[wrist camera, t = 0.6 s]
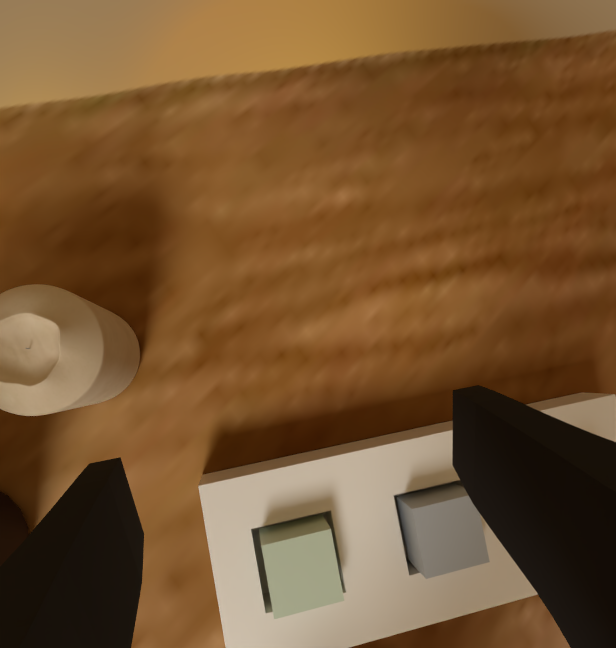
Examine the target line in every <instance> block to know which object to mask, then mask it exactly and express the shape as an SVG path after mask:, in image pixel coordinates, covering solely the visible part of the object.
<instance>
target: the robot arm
mask: <svg viewBox="0 0 616 648" xmlns="http://www.w3.org/2000/svg"><path fill="white" fill-rule="evenodd" d="M452 465H453V467H454V469H455V471H456V473H457V475H458V477H459V479H460V481H461V483H462V485H463V487H464V488H465V490H466V492H467V494H468V496H469V497H470V499H471V501H472V503H473V504H474V506H475V507H476V509H477V510H478V512H479V513H480V515H481V516H482V517H483V519H484V520H485V522H486V523H487V524H488V526H489V527H490V529H491V530H492V531H493V533H494V534H495V536H496V537H497V538H498V540H499V541H500V542H501V544H502V545H503V547H504V548H505V549H506V551H507V552H508V553H509V555H510V556H511V558H512V559H513V560H514V562H515V563H516V565H517V566H518V567H519V569H520V570H521V571H522V573H523V574H524V576H525V577H526V578H527V580H528V581H529V582H530V584H531V585H532V587H533V588H534V589H535V591H536V592H537V594H538V595H539V597H540V598H541V600H542V601H543V603H544V604H545V606H546V607H547V609H548V610H549V612H550V613H551V615H552V616H553V618H554V620H555V621H556V623H557V625H558V627H559V628H560V630H561V632H562V633H563V635H564V637H565V638H566V640H567V642H568V643H569V645H570V647H571V648H616V442H614V441H611V440H609V439H606V438H603V437H601V436H598V435H596V434H593V433H590V432H588V431H585V430H583V429H581V428H578V427H576V426H573V425H571V424H568V423H566V422H564V421H561V420H559V419H557V418H554V417H552V416H550V415H547V414H545V413H543V412H541V411H538V410H536V409H534V408H532V407H529V406H527V405H525V404H523V403H520V402H518V401H516V400H514V399H511V398H509V397H507V396H504V395H502V394H500V393H497V392H495V391H493V390H490V389H488V388H485V387H482V386H479V385H477V386H473V387H468V388H463V389H458V390H453V449H452ZM143 546H144V532H143V529H142V526H141V523H140V519H139V516H138V513H137V510H136V507H135V503H134V500H133V497H132V494H131V490H130V487H129V484H128V481H127V477H126V474H125V471H124V468H123V464H122V461H121V458H115V459H110V460H105V461H100V462H95V463H90V464H89V465H88V466H87V467H86V468H85V469H84V470H83V472H82V473H81V474H80V475H79V476H78V477H77V479H76V480H75V481H74V482H73V483H72V485H71V486H70V487H69V488H68V490H67V491H66V492H65V493H64V494H63V496H62V497H61V498H60V499H59V500H58V502H57V503H56V504H55V505H54V506H53V508H52V509H51V510H50V511H49V512H48V513H47V515H46V516H45V517H44V518H43V519H42V520H41V522H40V523H39V524H38V525H37V526H36V528H35V529H34V530H33V531H32V532H31V533H30V535H29V536H28V537H27V538H26V539H25V540H24V541H23V542H22V544H21V545H20V546H19V547H18V548H17V549H16V550H15V551H14V552H13V553H12V554H11V555H10V556H9V558H8V559H7V560H6V561H5V562H4V563H3V564H2V565H1V566H0V648H131V644H132V638H133V633H134V627H135V621H136V615H137V609H138V603H139V597H140V590H141V584H142V570H143Z"/></svg>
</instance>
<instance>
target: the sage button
mask: <svg viewBox="0 0 616 648" xmlns="http://www.w3.org/2000/svg"><path fill="white" fill-rule="evenodd" d="M259 534H260V541H261V547H262V553H263V559H264V564H265V570H266V576H267V581H268V587H269V593H270V598H271V604H272V610H273V615H274V619H278V618H281V617H285V616H289V615H293V614H296V613H300V612H304V611H308V610H311V609H315V608H319V607H323V606H326V605H330V604H334V603H338V602H341V601H344V596H343V591H342V586H341V580H340V575H339V570H338V564H337V559H336V553H335V548H334V543H333V537H332V532H331V528H330V527H329V525H328V523H327V522H326V520H325V518H324V517H323V515H322V514H319V515H315V516H311V517H306V518H302V519H298V520H294V521H289V522H285V523H281V524H277V525H273V526H268V527H264V528H260V529H259Z"/></svg>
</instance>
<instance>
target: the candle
mask: <svg viewBox="0 0 616 648" xmlns="http://www.w3.org/2000/svg"><path fill="white" fill-rule="evenodd" d="M139 362H140V347H139V343H138V340H137V337H136V335H135V333H134V331H133V330H132V328H131V327H130V326H129V325H128V323H127V322H126V321H124V320H123V319H122V318H121V317H119V316H117V315H116V314H114V313H112V312H110V311H108V310H106V309H104V308H102V307H100V306H98V305H96V304H94V303H92V302H90V301H88V300H86V299H84V298H82V297H80V296H78V295H76V294H74V293H71V292H69V291H67V290H65V289H62V288H59V287H56V286H51V285H45V284H31V285H23V286H19V287H15V288H12V289H9V290H7V291H5V292H3V293H1V294H0V409H1V410H4V411H6V412H9V413H13V414H17V415H24V416H39V415H46V414H51V413H56V412H60V411H65V410H69V409H74V408H78V407H83V406H88V405H92V404H96V403H100V402H104V401H106V400H109V399H111V398H113V397H115V396H117V395H118V394H120V393H121V392H122V391H123V390H124V389H125V388H127V386H128V385H129V384H130V383H131V381H132V380H133V378H134V376H135V374H136V372H137V370H138V366H139Z"/></svg>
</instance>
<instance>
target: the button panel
mask: <svg viewBox="0 0 616 648" xmlns="http://www.w3.org/2000/svg"><path fill="white" fill-rule="evenodd" d="M526 405H527V406H529V407H532V408H534V409H536V410H538V411H541V412H543V413H545V414H547V415H550V416H552V417H554V418H557V419H559V420H561V421H564V422H566V423H568V424H571V425H573V426H576V427H578V428H581V429H583V430H585V431H588V432H590V433H593V434H596V435H598V436H601V437H603V438H606V439H609V440H611V441H614V442H616V396H615V394H601V393H584V392H581V393H577V394H572V395H567V396H563V397H558V398H554V399H549V400H544V401H540V402H535V403H531V404H526ZM452 449H453V420H452V421H448V422H443V423H438V424H434V425H429V426H425V427H420V428H415V429H411V430H406V431H401V432H397V433H392V434H388V435H383V436H378V437H374V438H369V439H365V440H360V441H355V442H351V443H346V444H342V445H337V446H332V447H328V448H323V449H319V450H314V451H309V452H305V453H300V454H295V455H291V456H286V457H282V458H277V459H272V460H268V461H263V462H259V463H254V464H249V465H245V466H240V467H236V468H231V469H226V470H222V471H217V472H213V473H208V474H203V475H202V477H201V480H200V483H199V486H198V487H199V492H200V498H201V504H202V510H203V516H204V522H205V528H206V534H207V540H208V546H209V551H210V557H211V563H212V569H213V575H214V581H215V587H216V593H217V599H218V605H219V610H220V616H221V622H222V628H223V634H224V640H225V646H226V648H349V647H353V646H357V645H360V644H364V643H367V642H371V641H374V640H378V639H381V638H385V637H389V636H392V635H396V634H399V633H403V632H406V631H410V630H413V629H417V628H421V627H424V626H428V625H431V624H435V623H438V622H442V621H445V620H449V619H453V618H456V617H460V616H463V615H467V614H470V613H474V612H477V611H481V610H485V609H488V608H492V607H495V606H499V605H502V604H506V603H509V602H513V601H516V600H520V599H524V598H527V597H531V596H534V595H538V594H537V592H536V591H535V589H534V588H533V587H532V585H531V584H530V582H529V581H528V580H527V578H526V577H525V576H524V574H523V573H522V571H521V570H520V569H519V567H518V566H517V565H516V563H515V562H514V560H513V559H512V558H511V556H510V555H509V553H508V552H507V551H506V549H505V548H504V547H503V545H502V544H501V542H500V541H499V540H498V538H497V537H496V536H495V534H494V533H493V531H492V530H491V529H490V527H489V526H488V524H487V523H486V522H485V520H484V519H483V517H482V516H481V515H480V517H481V522H482V527H483V532H484V537H485V541H486V546H487V551H488V556H489V561H490V562H488V563H484V564H480V565H477V566H473V567H469V568H465V569H462V570H458V571H454V572H450V573H447V574H443V575H439V576H435V577H432V578H428V579H426V578H425V577H424V576H423V575H422V574H421V573H420V572H419V571H418V570H417V569H416V568H415V566H414V565H413V564H412V563H411V562H410V561H409V560H408V557H407V552H406V547H405V542H404V536H403V531H402V526H401V521H400V516H399V511H398V506H397V501H396V496H399V495H403V494H407V493H412V492H416V491H420V490H424V489H429V488H433V487H437V486H441V485H445V484H450V483H455V484H457V485H459V486H461V487H463V485H462V483H461V481H460V479H459V477H458V475H457V473H456V471H455V469H454V467H453V465H452ZM463 488H464V487H463ZM319 514H322V515H323V517H324V518H325V520H326V522H327V523H328V525H329V527H330V528H331V532H332V537H333V543H334V548H335V553H336V559H337V564H338V570H339V575H340V580H341V586H342V591H343V596H344V601H341V602H338V603H334V604H330V605H326V606H323V607H319V608H315V609H311V610H308V611H304V612H300V613H296V614H293V615H289V616H285V617H281V618H278V619H274V615H273V610H272V604H271V598H270V593H269V587H268V581H267V576H266V570H265V564H264V559H263V553H262V547H261V541H260V534H259V529H260V528H264V527H268V526H273V525H277V524H281V523H285V522H289V521H294V520H298V519H302V518H306V517H311V516H315V515H319Z"/></svg>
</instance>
